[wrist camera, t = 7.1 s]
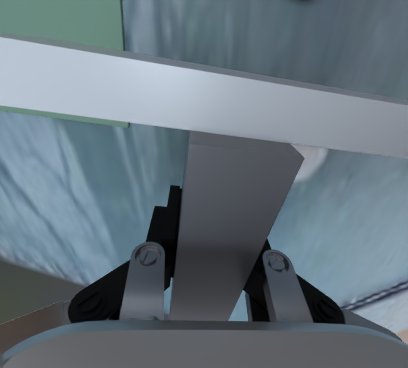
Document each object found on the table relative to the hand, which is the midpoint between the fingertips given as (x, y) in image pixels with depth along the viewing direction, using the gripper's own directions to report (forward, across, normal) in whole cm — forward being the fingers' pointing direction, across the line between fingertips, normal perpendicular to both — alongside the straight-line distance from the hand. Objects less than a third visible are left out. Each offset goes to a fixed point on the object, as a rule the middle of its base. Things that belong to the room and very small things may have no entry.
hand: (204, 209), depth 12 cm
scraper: (0, 0, 0) cm, 0 cm away
